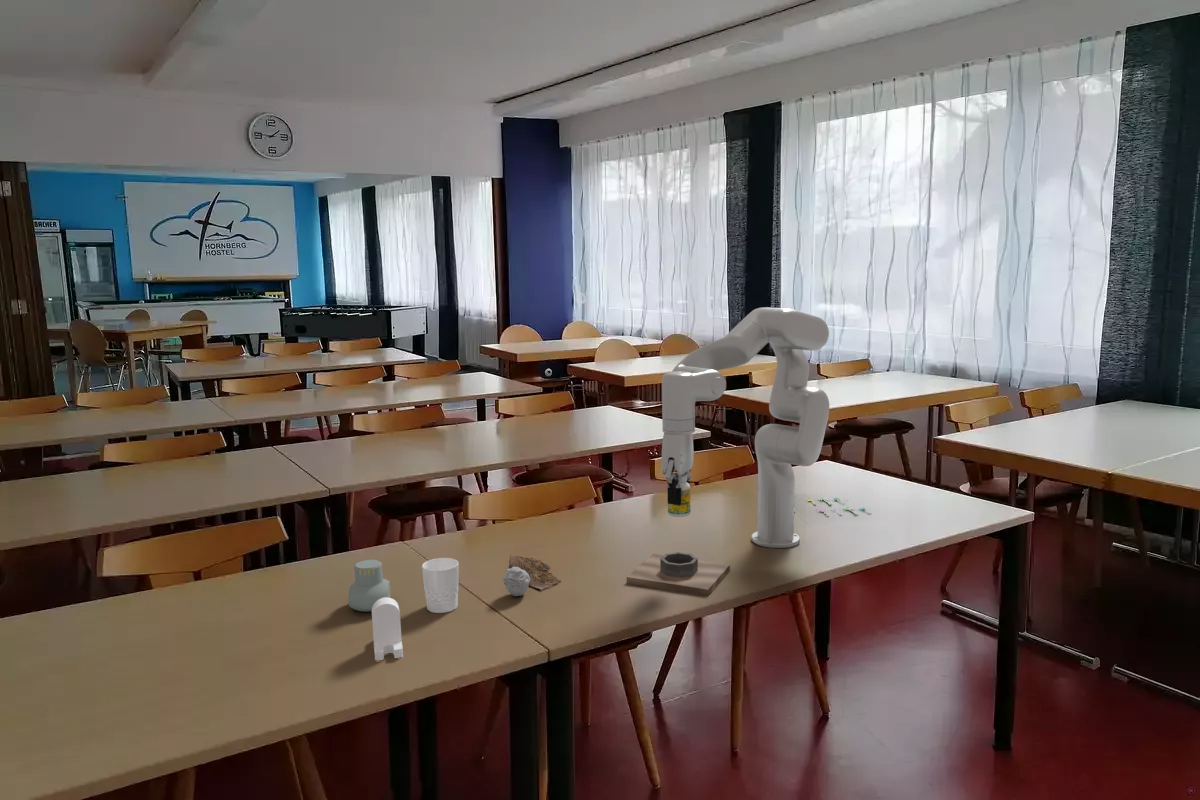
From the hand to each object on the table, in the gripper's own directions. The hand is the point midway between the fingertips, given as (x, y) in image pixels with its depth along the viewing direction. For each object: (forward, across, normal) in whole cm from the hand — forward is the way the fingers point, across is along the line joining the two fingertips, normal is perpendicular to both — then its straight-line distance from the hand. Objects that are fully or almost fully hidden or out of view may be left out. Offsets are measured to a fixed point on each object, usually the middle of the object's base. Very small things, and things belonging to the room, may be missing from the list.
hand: (679, 499), depth 198 cm
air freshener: (+19, +43, -57) cm, 74 cm away
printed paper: (+20, -72, +25) cm, 79 cm away
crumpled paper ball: (+19, +25, -30) cm, 44 cm away
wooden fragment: (+19, +11, -35) cm, 42 cm away
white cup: (+19, +37, -42) cm, 59 cm away
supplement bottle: (+4, 0, 0) cm, 4 cm away
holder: (+19, 0, 0) cm, 19 cm away
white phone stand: (+19, +58, -40) cm, 73 cm away
